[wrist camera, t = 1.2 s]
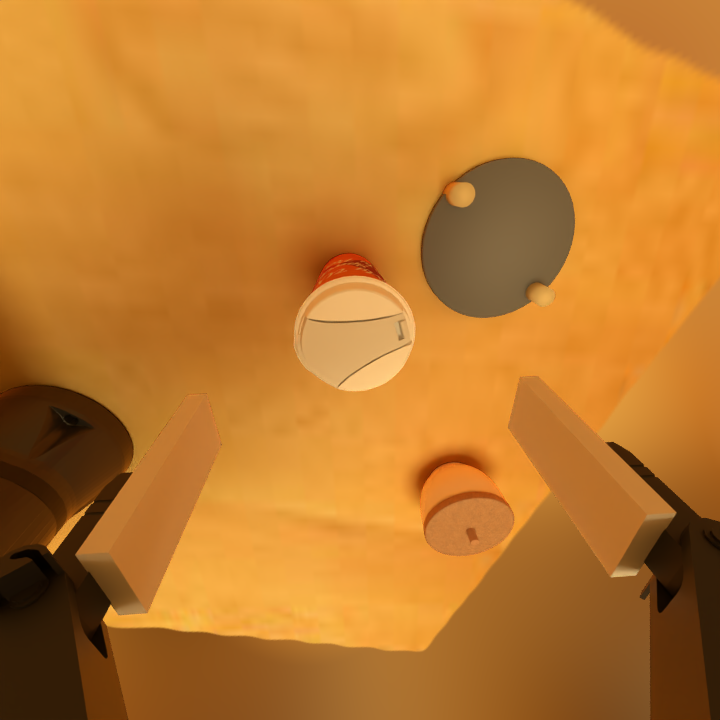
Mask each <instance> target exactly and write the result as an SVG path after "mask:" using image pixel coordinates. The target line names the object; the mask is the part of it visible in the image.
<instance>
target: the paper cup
mask: <svg viewBox="0 0 720 720" xmlns="http://www.w3.org/2000/svg"><path fill="white" fill-rule="evenodd" d="M414 339H415V322H414V317H413V314H412V311H411V309H410V307H409V305H408V303H407V302H406V300H405V299H404V298H403V297H402V295H401V294H400V293H399V292H398V291H396V290H395V289H394V288H393V287H391V286H390V285H388V284H387V283H386V282H385V281H384V279H383V278H382V277H381V275H380V274H379V273H378V271H377V270H376V269H375V268H374V266H373V265H372V264H371V263H370V262H369V261H368V260H366V259H365V258H363V257H362V256H359V255H357V254H351V253H346V254H341V255H338V256H336V257H334V258H332V259H331V260H330V261H329V262H328V263H327V264H326V265H325V266H324V268H323V269H322V271H321V273H320V275H319V278H318V280H317V282H316V285H315V287H314V289H313V292H312V293H311V294H310V295H309V296H308V298H307V299H306V300H305V301H304V302H303V304H302V306H301V308H300V310H299V312H298V314H297V317H296V321H295V327H294V349H295V352H296V354H297V356H298V358H299V360H300V362H301V363H302V364H303V366H304V367H305V368H306V369H307V370H308V371H310V372H311V373H313V374H314V375H315V376H317V377H318V378H319V379H321V380H322V381H324V382H326V383H327V384H329V385H331V386H333V387H335V388H337V389H340V390H346V391H364V390H368V389H373V388H375V387H378V386H380V385H382V384H384V383H386V382H387V381H389V380H390V379H392V378H393V377H394V376H395V375H396V374H397V373H398V372H399V371H400V370H401V368H402V367H403V366H404V364H405V362H406V361H407V359H408V356H409V354H410V352H411V350H412V347H413V344H414Z"/></svg>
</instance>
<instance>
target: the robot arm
mask: <svg viewBox="0 0 720 720" xmlns="http://www.w3.org/2000/svg"><path fill="white" fill-rule="evenodd" d="M508 428H509V430H510V431H511V433H512V434H513V436H514V437H515V439H516V440H517V442H518V443H519V444H520V446H521V447H522V449H523V450H524V452H525V453H526V455H527V456H528V458H529V459H530V461H531V462H532V463H533V465H534V466H535V468H536V469H537V471H538V472H539V474H540V475H541V477H542V478H543V479H544V481H545V482H546V484H547V485H548V487H549V488H550V490H551V491H552V493H553V494H554V496H555V497H556V498H557V500H558V501H559V503H560V504H561V506H562V507H563V509H564V510H565V512H566V513H567V514H568V516H569V517H570V519H571V520H572V522H573V523H574V525H575V526H576V528H577V529H578V531H579V532H580V533H581V534H582V536H583V538H584V539H585V541H586V542H587V544H588V545H589V547H590V548H591V549H592V551H593V552H594V554H595V555H596V556H597V558H598V559H599V561H600V563H601V564H602V565H603V567H604V568H605V570H606V571H607V573H608V574H609V576H610V577H621V576H633V575H636V574H637V573H638V571H639V570H640V568H641V567H642V565H643V564H644V563H645V564H646V565H647V566H648V568H649V569H650V570H651V571H652V572H653V576H652V577H651V579H650V580H649V582H648V583H647V584H646V586H645V588H644V589H643V590H642V592H641V595H640V598H642V599H644V600H645V598H646V597H647V596H648V594H649V593H650V707H651V708H650V711H651V714H650V716H651V717H650V718H651V719H650V720H720V522H718V521H715V520H711V519H708V518H701V517H700V516H699V515H697V514H696V513H695V512H694V511H693V510H692V509H691V508H690V507H689V506H688V505H687V504H686V503H685V502H683V501H682V500H681V499H680V498H679V497H678V496H677V495H676V494H675V493H674V492H673V491H672V490H671V489H669V488H668V487H667V486H666V485H665V484H664V483H663V482H662V481H661V480H660V479H659V478H657V477H655V476H654V474H653V473H652V472H651V471H650V470H649V469H648V468H647V467H644V465H643V463H641V462H640V461H639V460H638V459H637V458H636V457H635V456H634V455H633V454H632V453H631V452H629V451H628V450H626V449H624V448H623V447H621V446H619V445H618V444H616V443H614V442H607V443H606V442H604V441H603V440H602V439H601V438H600V437H599V436H598V435H597V434H596V433H595V432H594V431H593V430H592V429H591V428H590V427H589V426H588V425H587V424H586V423H585V422H584V421H583V420H582V419H581V418H580V417H579V416H578V415H577V414H576V413H575V412H574V411H573V410H572V409H571V408H570V407H569V406H568V405H567V404H566V403H565V402H564V401H563V400H562V399H561V398H559V397H558V396H557V395H556V394H555V393H554V392H553V391H552V390H551V389H550V388H549V387H548V386H547V385H546V384H545V383H544V382H543V381H542V380H541V379H540V378H539V377H538V376H528V377H520V379H519V383H518V388H517V392H516V396H515V400H514V404H513V409H512V413H511V417H510V421H509V425H508ZM221 445H222V444H221V440H220V437H219V434H218V430H217V427H216V423H215V420H214V417H213V413H212V410H211V406H210V403H209V400H208V396H207V394H189V395H187V396H186V398H185V399H184V401H183V402H182V403H181V405H180V406H179V408H178V409H177V410H176V412H175V413H174V415H173V416H172V418H171V419H170V420H169V422H168V423H167V425H166V426H165V428H164V429H163V430H162V432H161V433H160V435H159V436H158V438H157V439H156V440H155V442H154V443H153V445H152V446H151V447H150V449H149V450H148V452H147V453H146V455H145V456H144V457H143V459H142V460H141V462H140V463H139V465H138V466H137V467H136V469H135V470H134V472H131V473H125V471H126V470H127V469H128V467H129V465H130V464H131V461H132V457H133V447H132V442H131V439H130V437H129V435H128V433H127V431H126V429H125V428H124V427H123V425H122V424H121V423H120V422H119V420H118V419H117V418H116V417H115V416H113V415H112V414H111V413H110V412H109V411H108V410H106V409H105V408H104V407H102V406H101V405H99V404H97V403H96V402H94V401H92V400H90V399H88V398H86V397H84V396H82V395H80V394H77V393H74V392H71V391H68V390H65V389H61V388H56V387H50V386H38V385H33V386H22V387H17V388H13V389H10V390H7V391H5V392H3V393H1V394H0V720H128V716H127V712H126V708H125V704H124V700H123V695H122V691H121V687H120V682H119V678H118V674H117V669H116V665H115V661H114V657H113V652H112V648H111V643H110V639H109V635H108V630H107V626H106V624H105V622H104V621H103V617H104V616H105V614H106V612H107V610H108V608H109V606H110V604H111V605H112V607H113V608H114V609H115V611H116V612H117V613H118V615H129V614H142V613H148V610H149V608H150V606H151V604H152V601H153V599H154V597H155V595H156V592H157V590H158V588H159V586H160V583H161V581H162V579H163V576H164V574H165V572H166V570H167V567H168V565H169V563H170V561H171V558H172V556H173V554H174V552H175V549H176V547H177V545H178V542H179V540H180V538H181V536H182V533H183V531H184V529H185V527H186V524H187V522H188V520H189V518H190V515H191V513H192V511H193V508H194V506H195V504H196V502H197V499H198V497H199V495H200V493H201V490H202V488H203V486H204V484H205V481H206V479H207V477H208V474H209V472H210V470H211V468H212V465H213V463H214V461H215V459H216V456H217V454H218V452H219V449H220V447H221ZM93 501H94V503H93V504H91V505H90V507H89V508H88V509H87V511H86V512H85V515H84V516H82V517H81V518H80V520H79V521H78V522H77V524H76V525H75V526H74V528H73V529H72V530H71V532H70V533H69V534H68V535H67V537H66V538H65V539H64V541H63V542H62V543H61V545H60V546H59V547H58V549H57V550H56V551H55V553H54V554H53V555H52V554H51V553H50V551H49V550H48V549H47V546H48V544H49V543H50V542H51V540H52V539H53V538H54V536H55V535H56V534H57V533H58V531H59V530H60V529H61V528H62V526H63V525H64V524H65V523H66V522H67V520H69V519H70V518H71V517H73V516H74V515H75V514H77V513H78V512H80V511H81V510H82V509H84V508H85V507H86V506H88V505H89V504H90V503H92V502H93Z"/></svg>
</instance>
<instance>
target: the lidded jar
mask: <svg viewBox="0 0 720 720" xmlns="http://www.w3.org/2000/svg"><path fill="white" fill-rule="evenodd" d="M420 510H421V518H422V522H423V528H424V535H425V538H426V541H427V543H428V544H429V545H430V546H431V547H432V548H433V549H435V550H436V551H438V552H440V553H443V554H446V555H452V556H467V555H473V554H477V553H481V552H484V551H486V550H489V549H491V548H493V547H494V546H496V545H498V544H499V543H500V542H502V541H503V540H504V539H505V538H506V537H507V536H508V535H509V533H510V532H511V530H512V528H513V524H514V514H513V512H512V510H511V508H510V506H509V504H508V503H507V502H506V501H505V499H504V497H503V495H502V493H501V492H500V490H499V489H498V487H497V486H496V485H495V483H494V482H493V481H492V480H491V479H490V478H489V477H488V476H487V475H486V474H484V473H483V472H482V471H480V470H478V469H477V468H475V467H472V466H469V465H465V464H463V463H459V462H450V463H446V464H443V465H441V466H439V467H437V468H436V469H435V470H434V471H433V472H432V473H431V474H430V476H429V478H428V479H427V480H426V482H425V484H424V486H423V489H422V492H421V497H420Z"/></svg>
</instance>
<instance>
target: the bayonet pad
mask: <svg viewBox="0 0 720 720" xmlns="http://www.w3.org/2000/svg"><path fill="white" fill-rule="evenodd" d="M574 227H575V215H574V208H573V202H572V199H571V197H570V194H569V192H568V190H567V188H566V186H565V184H564V183H563V181H562V180H561V179H560V178H559V176H558V175H557V174H555V173H554V172H553V171H552V170H551V169H549V168H548V167H546V166H545V165H543V164H541V163H538V162H536V161H533V160H528V159H523V158H508V159H499V160H494V161H490V162H487V163H484V164H482V165H479V166H477V167H475V168H473V169H472V170H470V171H468V172H466V173H465V174H464V175H462V176H461V177H460V178H458V179H457V180H456V181H455V182H453V183H450V184H448V185H447V186H446V188H445V189H444V192H443V195H442V196H441V197H440V199H439V200H438V202H437V203H436V205H435V206H434V208H433V210H432V212H431V214H430V216H429V218H428V221H427V224H426V226H425V230H424V234H423V239H422V247H421V259H422V266H423V270H424V274H425V277H426V279H427V282H428V284H429V286H430V287H431V289H432V291H433V292H434V293H435V295H436V296H437V297H438V298H439V299H440V300H441V301H442V302H443V303H444V304H445V305H446V306H448V307H449V308H451V309H452V310H454V311H456V312H458V313H460V314H463V315H467V316H471V317H478V318H488V317H496V316H501V315H505V314H507V313H510V312H513V311H515V310H517V309H519V308H521V307H523V306H525V305H526V304H528V303H530V302H531V301H532V302H534V303H535V304H537V305H539V306H541V307H545V306H548V305H550V304H551V303H552V302H553V300H554V299H555V292H554V290H553V289H551V288H549V287H548V286H549V285H550V284H551V283H552V281H553V280H554V279H555V277H556V276H557V275H558V273H559V272H560V270H561V268H562V266H563V265H564V263H565V261H566V258H567V256H568V254H569V251H570V248H571V245H572V240H573V236H574Z"/></svg>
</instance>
